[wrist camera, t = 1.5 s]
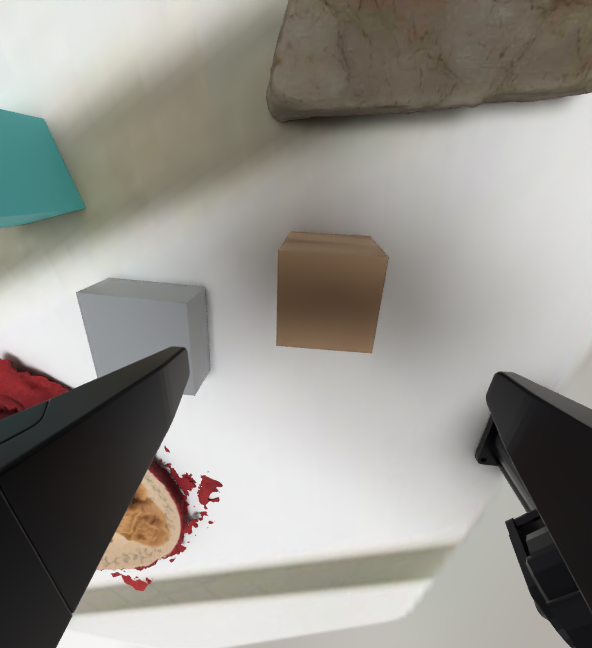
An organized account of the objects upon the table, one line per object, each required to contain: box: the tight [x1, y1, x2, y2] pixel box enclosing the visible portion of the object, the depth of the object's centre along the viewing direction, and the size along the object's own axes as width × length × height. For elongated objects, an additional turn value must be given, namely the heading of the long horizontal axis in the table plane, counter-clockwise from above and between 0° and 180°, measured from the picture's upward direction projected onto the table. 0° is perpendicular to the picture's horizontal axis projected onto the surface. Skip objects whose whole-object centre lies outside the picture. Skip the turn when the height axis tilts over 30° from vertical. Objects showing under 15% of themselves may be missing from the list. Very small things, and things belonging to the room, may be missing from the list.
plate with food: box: [0, 359, 223, 591], centre depth 32 cm, size 25×26×4 cm
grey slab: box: [76, 278, 210, 396], centre depth 22 cm, size 7×7×4 cm
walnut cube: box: [276, 232, 389, 353], centre depth 18 cm, size 5×5×6 cm
